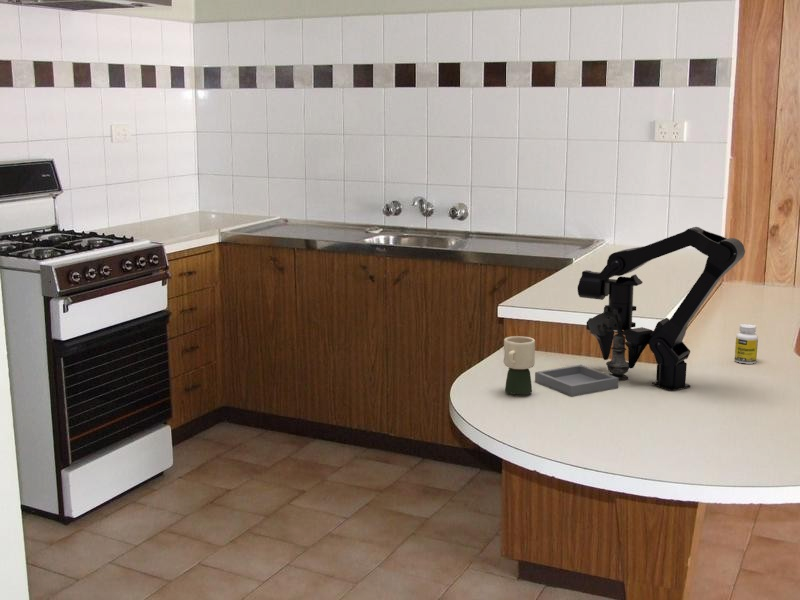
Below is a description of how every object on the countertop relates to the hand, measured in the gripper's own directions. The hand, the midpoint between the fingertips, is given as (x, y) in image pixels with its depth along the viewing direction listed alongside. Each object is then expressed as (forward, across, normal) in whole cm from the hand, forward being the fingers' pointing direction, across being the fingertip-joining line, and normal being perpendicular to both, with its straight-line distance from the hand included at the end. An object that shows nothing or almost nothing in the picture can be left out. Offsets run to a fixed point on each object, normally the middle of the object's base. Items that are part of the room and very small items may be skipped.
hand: (618, 363), depth 229 cm
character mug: (+4, -1, -29) cm, 29 cm away
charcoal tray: (+4, 0, -13) cm, 13 cm away
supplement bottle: (+4, +5, +39) cm, 39 cm away
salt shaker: (+4, 0, 0) cm, 4 cm away
